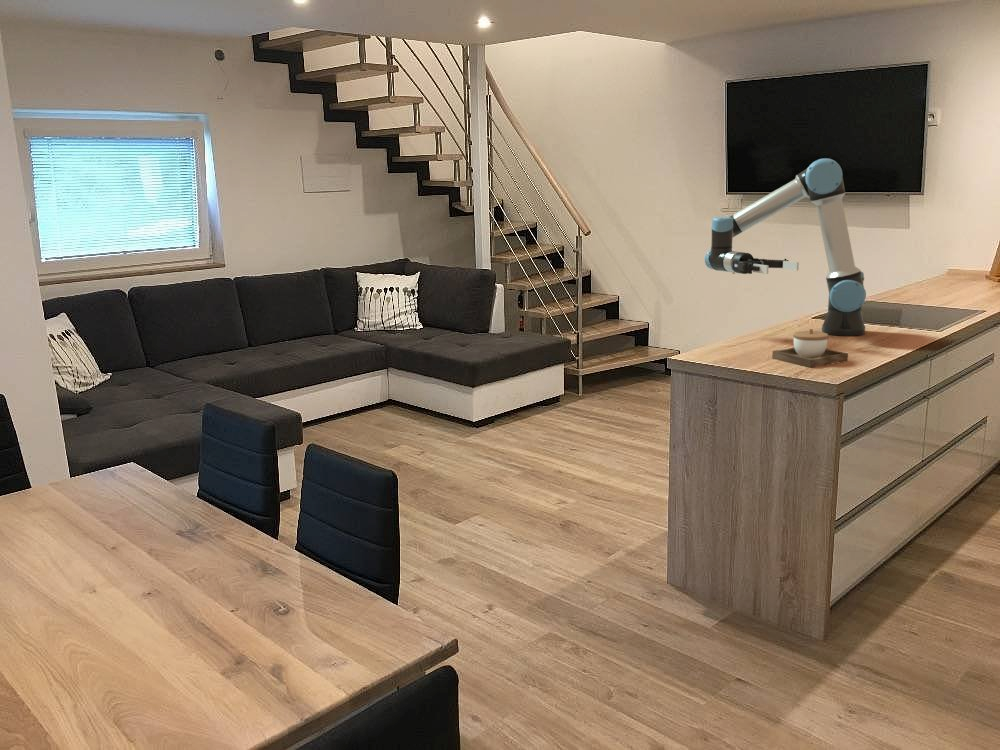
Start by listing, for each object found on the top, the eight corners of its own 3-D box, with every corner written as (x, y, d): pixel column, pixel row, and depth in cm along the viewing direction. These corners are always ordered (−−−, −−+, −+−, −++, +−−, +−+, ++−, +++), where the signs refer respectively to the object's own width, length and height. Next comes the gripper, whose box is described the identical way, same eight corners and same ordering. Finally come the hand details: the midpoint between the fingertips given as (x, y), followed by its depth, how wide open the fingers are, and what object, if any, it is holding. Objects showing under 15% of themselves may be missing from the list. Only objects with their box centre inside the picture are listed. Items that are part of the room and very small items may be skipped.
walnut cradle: (808, 352, 296) (809, 345, 295) (847, 361, 282) (848, 353, 281) (772, 358, 289) (772, 350, 288) (810, 367, 275) (810, 360, 274)
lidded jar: (829, 361, 279) (831, 332, 277) (794, 360, 281) (795, 332, 279) (824, 354, 289) (825, 326, 287) (790, 353, 291) (791, 325, 289)
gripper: (765, 270, 321) (809, 276, 302) (711, 275, 310) (754, 282, 291) (766, 249, 319) (810, 254, 300) (712, 254, 308) (755, 259, 290)
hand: (782, 268), depth 296 cm, fingers open, 13 cm apart
